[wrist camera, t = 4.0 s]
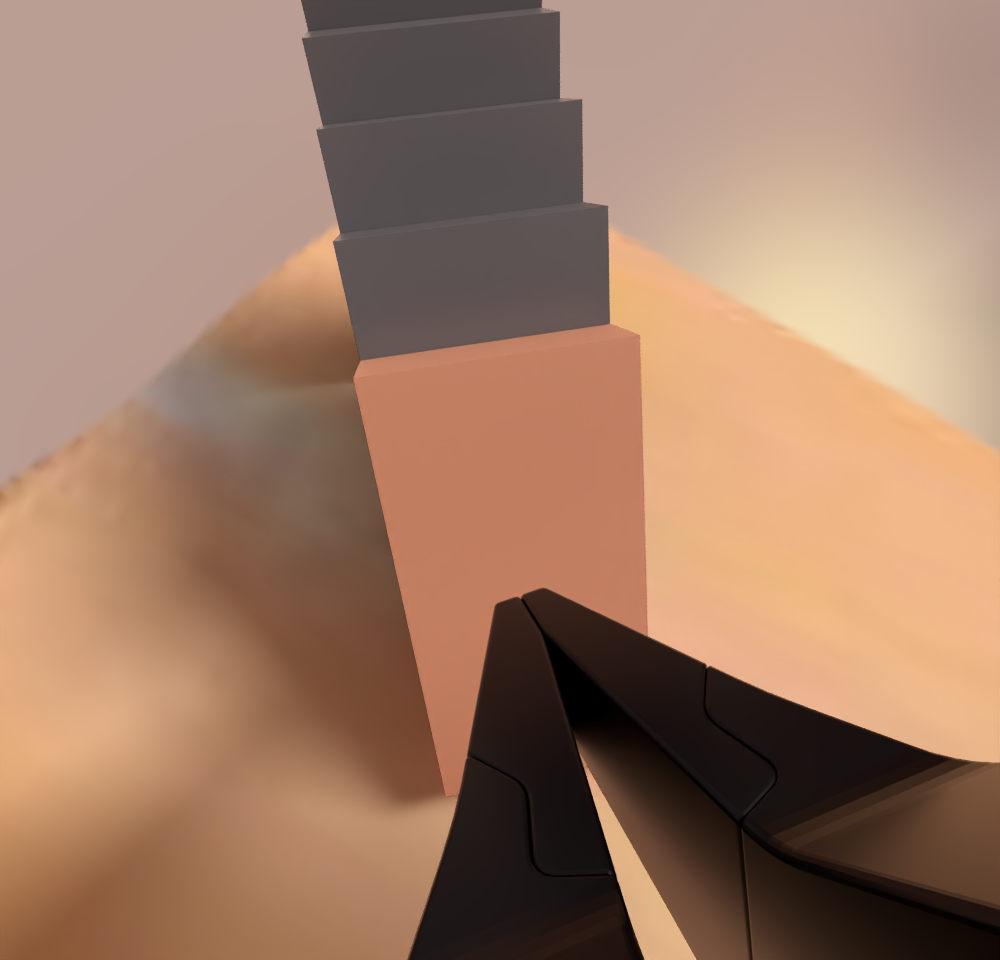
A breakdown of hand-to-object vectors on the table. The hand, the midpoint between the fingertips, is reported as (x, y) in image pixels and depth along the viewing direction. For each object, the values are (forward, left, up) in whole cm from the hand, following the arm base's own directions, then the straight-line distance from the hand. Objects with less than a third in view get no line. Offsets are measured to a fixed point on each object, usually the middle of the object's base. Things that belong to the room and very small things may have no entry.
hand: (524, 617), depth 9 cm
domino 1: (-2, 0, -7) cm, 7 cm away
